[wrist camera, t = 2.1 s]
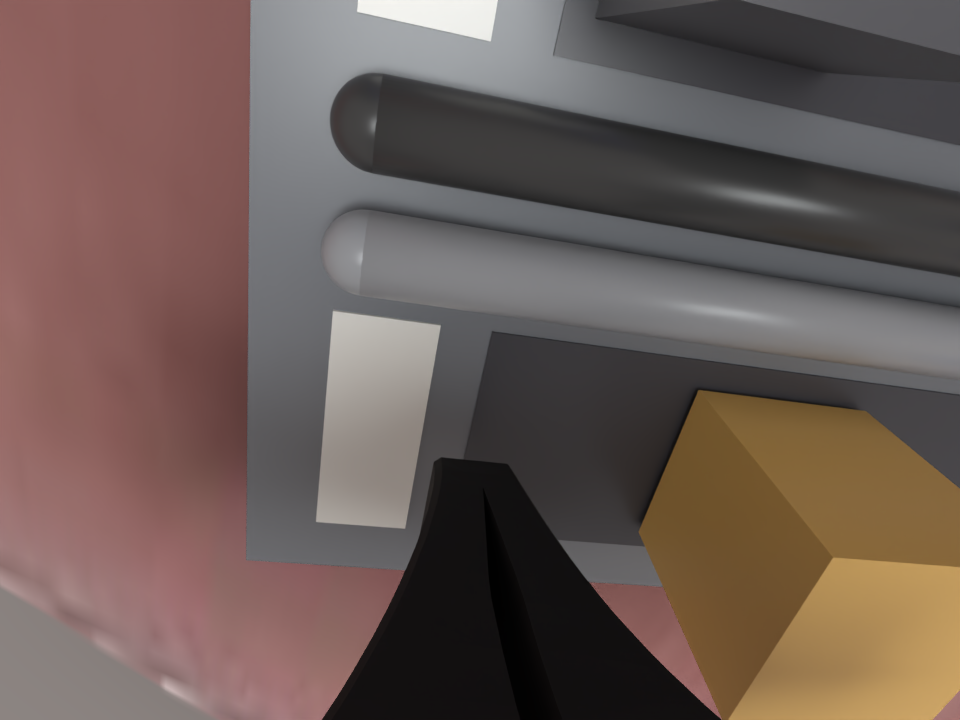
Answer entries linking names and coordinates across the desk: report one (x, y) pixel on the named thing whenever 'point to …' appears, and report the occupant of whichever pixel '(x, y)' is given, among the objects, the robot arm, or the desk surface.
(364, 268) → the slider rail fixture
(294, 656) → the desk surface
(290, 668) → the desk surface
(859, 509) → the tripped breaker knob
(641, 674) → the robot arm
